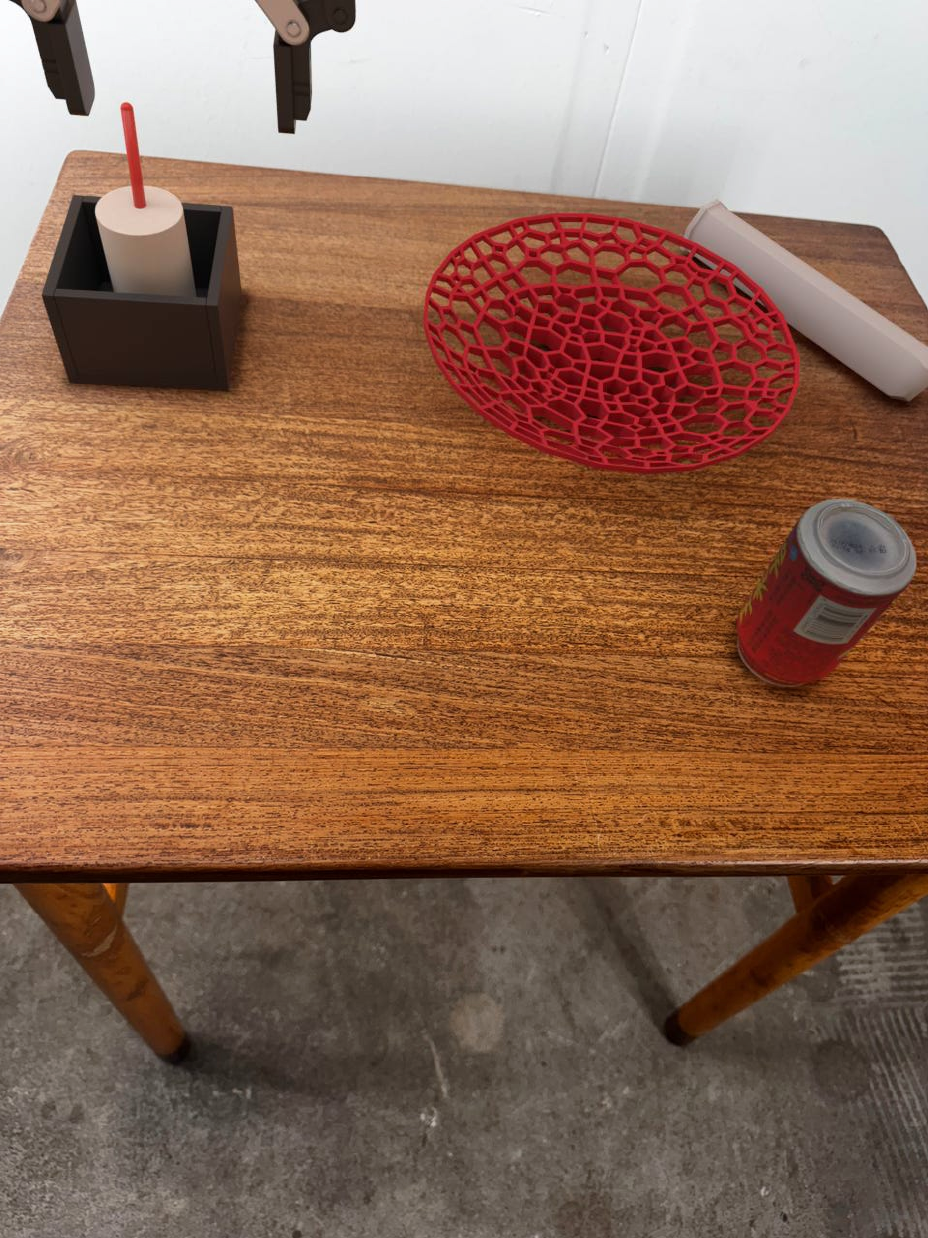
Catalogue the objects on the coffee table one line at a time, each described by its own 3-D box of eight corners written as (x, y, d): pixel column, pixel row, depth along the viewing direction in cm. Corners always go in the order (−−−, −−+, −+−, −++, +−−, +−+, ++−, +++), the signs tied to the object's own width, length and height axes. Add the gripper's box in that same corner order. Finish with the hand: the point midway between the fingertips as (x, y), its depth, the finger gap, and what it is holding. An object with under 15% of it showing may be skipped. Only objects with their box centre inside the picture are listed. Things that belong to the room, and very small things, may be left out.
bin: (69, 383, 68) (40, 294, 62) (95, 283, 75) (72, 194, 68) (228, 391, 70) (217, 305, 63) (241, 292, 76) (232, 205, 70)
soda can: (841, 698, 61) (941, 590, 50) (737, 694, 60) (817, 583, 50) (816, 609, 64) (904, 492, 54) (718, 604, 64) (789, 485, 54)
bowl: (788, 546, 67) (817, 501, 63) (390, 478, 67) (394, 428, 63) (763, 295, 84) (786, 246, 80) (444, 239, 83) (450, 186, 79)
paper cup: (118, 351, 70) (66, 142, 56) (128, 301, 73) (80, 92, 59) (197, 354, 70) (164, 148, 57) (203, 304, 74) (173, 98, 60)
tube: (960, 354, 76) (730, 198, 84) (939, 362, 72) (702, 198, 81) (917, 408, 79) (700, 252, 88) (895, 417, 76) (671, 255, 84)
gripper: (-209, -474, 23) (-8, 150, 37) (359, -388, 25) (353, 178, 38) (-120, -521, 27) (32, 56, 41) (363, -445, 29) (355, 85, 42)
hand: (187, 115), depth 40 cm, fingers open, 8 cm apart
